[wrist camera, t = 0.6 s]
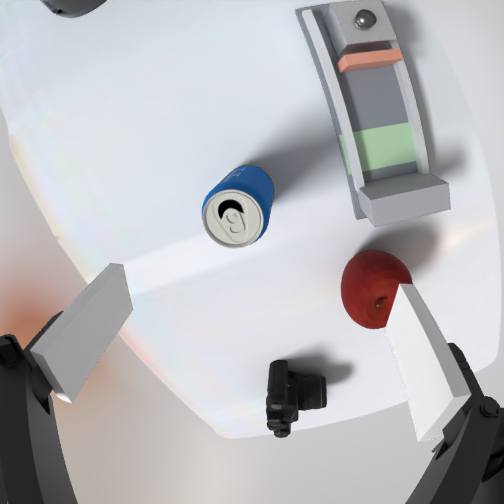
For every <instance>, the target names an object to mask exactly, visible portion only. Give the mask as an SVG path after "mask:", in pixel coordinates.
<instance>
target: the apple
mask: <svg viewBox="0 0 504 504" xmlns="http://www.w3.org/2000/svg"><path fill="white" fill-rule="evenodd" d="M399 284H413V283H412V278H411V275H410V273H409V271H408V269H407V268H406V266H405V265H404V264H403V263H402V262H401V261H400V260H399V259H397V258H396V257H394V256H393V255H391V254H388V253H386V252H382V251H365V252H362V253H359V254H357V255H355V256H354V257H353V258H352V259H351V260H350V261H349V262H348V264H347V265H346V267H345V269H344V272H343V276H342V281H341V298H342V301H343V304H344V307H345V309H346V311H347V313H348V314H349V316H350V317H351V318H352V319H353V320H354V321H355V322H356V323H358V324H359V325H361V326H363V327H365V328H368V329H379V328H383V327H386V325H387V322H388V319H389V316H390V313H391V310H392V307H393V304H394V300H395V297H396V294H397V291H398V287H399Z"/></svg>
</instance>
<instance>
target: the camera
mask: <svg viewBox="0 0 504 504" xmlns="http://www.w3.org/2000/svg"><path fill="white" fill-rule="evenodd" d="M267 391H268V396H267V398H266V405H267V408H266V414H267V421H268V422H267V427H268V428H269V430H273V431H274V435H275V436H276V437H279V438H283V437H287V436H288V435H289V434H290V432H291V423H293V422H295V421H297V420H298V410H303V411H305V410H310V409H320V408H325V407H326V405H327V390H326V379H325V377H324V376H310V377H302V378H299V377H298V376H297V373H295V372H291V371H288V368H287V361H284V360H276V361H273V362H272V363H271V364H270V368H269V378H268V388H267Z"/></svg>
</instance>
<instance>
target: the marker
mask: <svg viewBox="0 0 504 504" xmlns="http://www.w3.org/2000/svg"><path fill="white" fill-rule="evenodd" d="M402 59H403V56H402V53H401V50H400V49H391V50H380V51H371V52H363V53H356V54H349V55H344V56H343V57H342V58H341V60H340V61H339V62H338V63H337V66H338V69H339V72H340V73H342V72H348V71H354V70H361V69H368V68H375V67H383V66H390V65H392V64H394V63H396V62H398V61H400V60H402Z"/></svg>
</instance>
